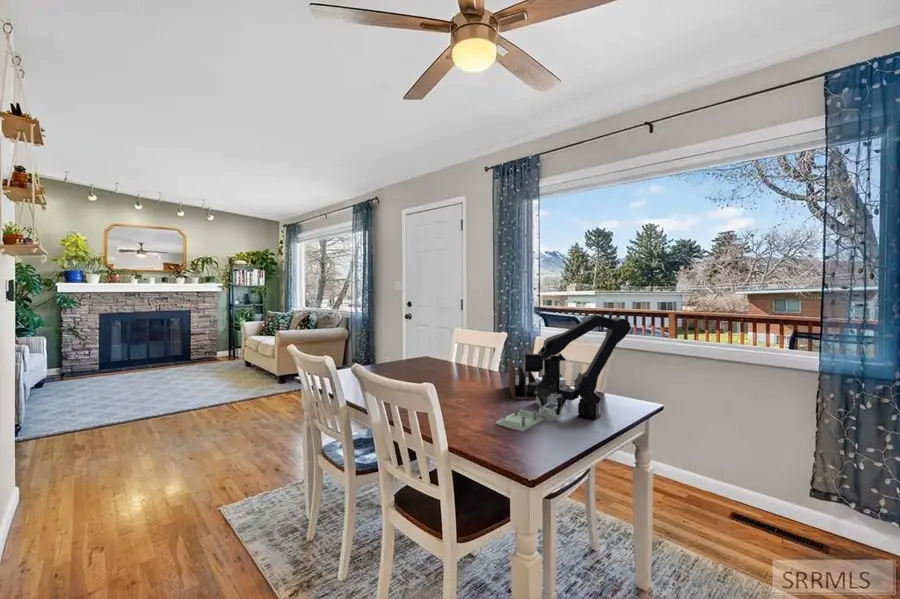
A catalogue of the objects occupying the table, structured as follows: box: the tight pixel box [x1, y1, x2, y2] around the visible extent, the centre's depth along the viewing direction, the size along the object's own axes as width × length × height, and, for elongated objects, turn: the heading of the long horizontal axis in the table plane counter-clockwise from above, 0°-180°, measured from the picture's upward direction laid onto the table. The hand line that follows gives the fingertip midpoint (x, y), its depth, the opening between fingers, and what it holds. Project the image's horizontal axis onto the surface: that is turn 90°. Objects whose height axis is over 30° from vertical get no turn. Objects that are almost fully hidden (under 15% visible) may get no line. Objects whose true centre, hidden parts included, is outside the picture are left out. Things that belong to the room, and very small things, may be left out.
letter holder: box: [508, 359, 536, 400], centre depth 186 cm, size 10×20×14 cm, turn 178°
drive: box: [538, 402, 565, 422], centre depth 156 cm, size 5×10×4 cm, turn 140°
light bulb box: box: [535, 376, 567, 407], centre depth 170 cm, size 11×7×11 cm, turn 100°
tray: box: [495, 405, 544, 432], centre depth 150 cm, size 11×14×4 cm
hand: (551, 413), depth 156 cm, fingers open, 5 cm apart
